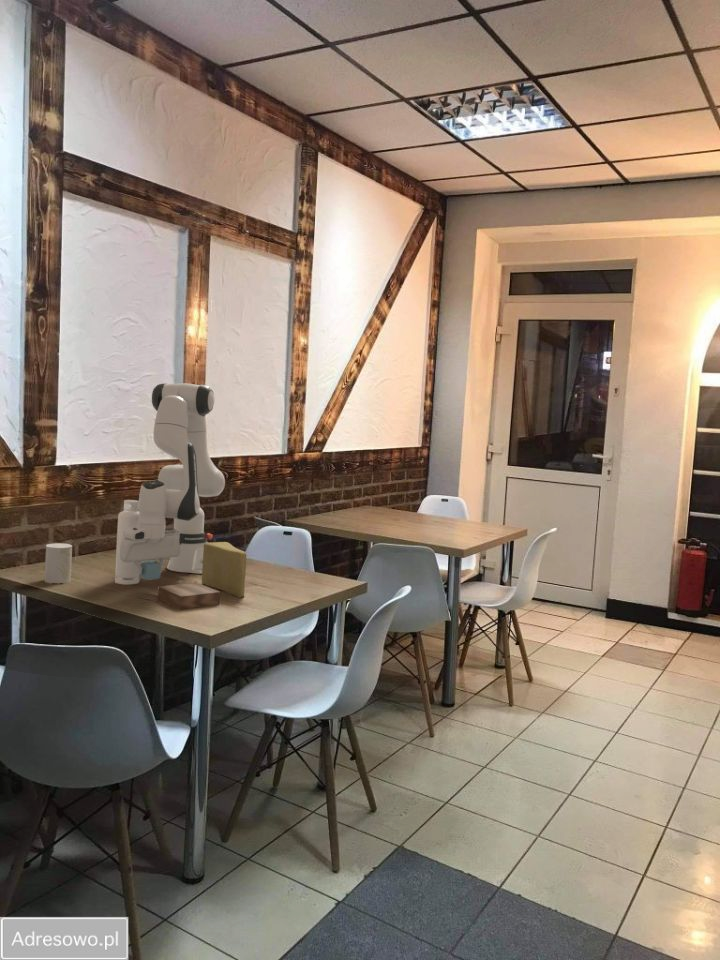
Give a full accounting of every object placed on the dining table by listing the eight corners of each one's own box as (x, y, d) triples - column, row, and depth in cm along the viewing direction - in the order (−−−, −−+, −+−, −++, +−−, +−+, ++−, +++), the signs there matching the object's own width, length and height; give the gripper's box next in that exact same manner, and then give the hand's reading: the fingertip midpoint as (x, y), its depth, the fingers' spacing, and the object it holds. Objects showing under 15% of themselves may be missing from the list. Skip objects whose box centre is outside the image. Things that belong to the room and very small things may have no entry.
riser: (196, 594, 262) (196, 582, 261) (219, 604, 252) (220, 591, 251) (157, 598, 252) (158, 586, 252) (180, 609, 242) (181, 596, 242)
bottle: (144, 581, 274) (148, 501, 271) (128, 585, 266) (132, 503, 264) (125, 577, 277) (130, 498, 275) (109, 581, 270) (113, 500, 267)
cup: (61, 584, 261) (63, 548, 260) (39, 581, 262) (40, 546, 261) (75, 580, 269) (76, 545, 268) (53, 577, 270) (55, 542, 269)
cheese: (255, 596, 266) (258, 552, 264) (229, 598, 260) (231, 553, 258) (225, 581, 283) (228, 540, 282) (200, 583, 278) (203, 541, 276)
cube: (152, 574, 263) (153, 560, 263) (160, 578, 260) (161, 563, 259) (139, 576, 260) (139, 561, 259) (146, 580, 256) (147, 565, 256)
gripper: (174, 526, 267) (173, 566, 269) (118, 531, 253) (116, 573, 255) (184, 530, 263) (182, 571, 265) (127, 535, 249) (125, 578, 251)
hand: (149, 572), depth 260 cm, fingers closed on cube, 5 cm apart
